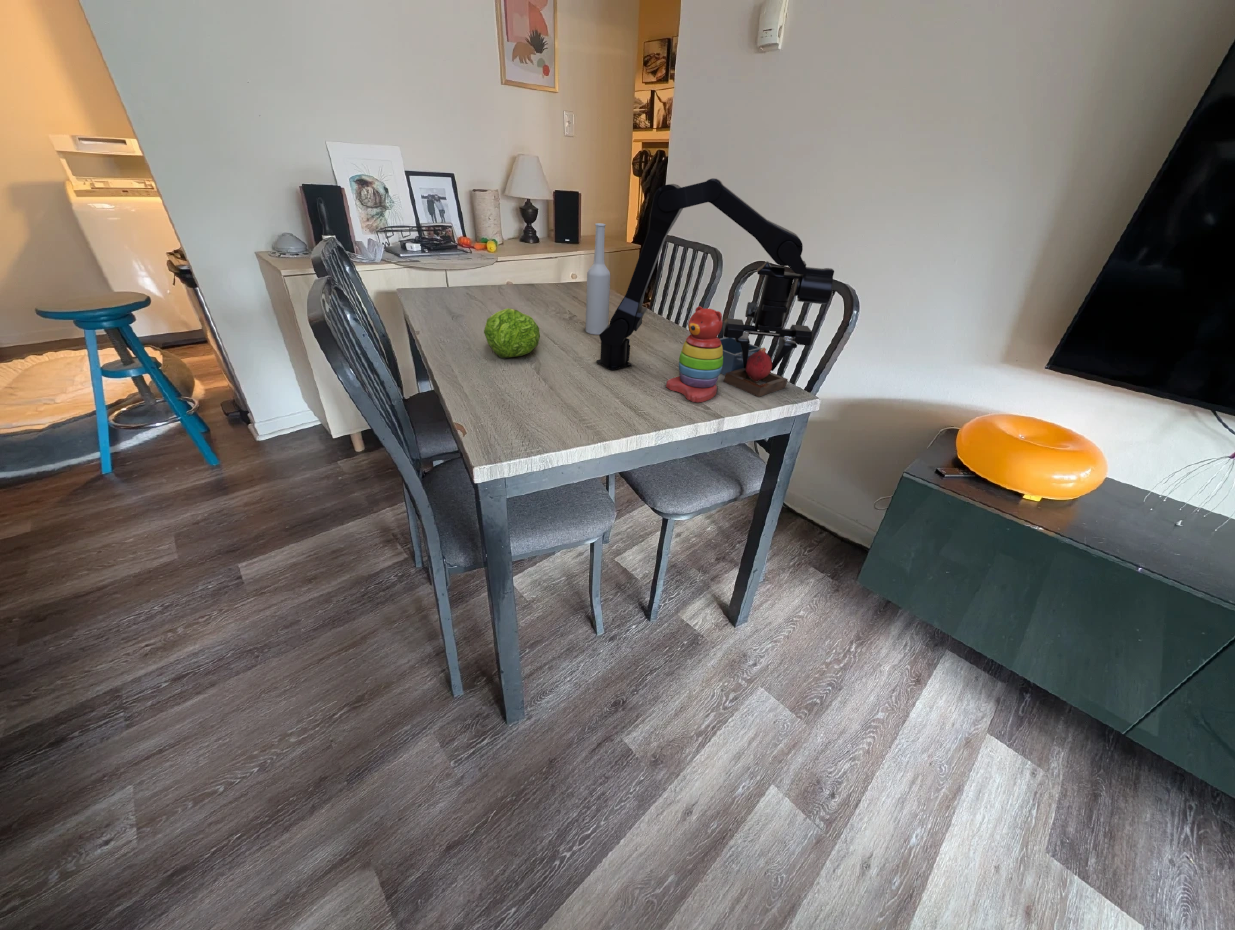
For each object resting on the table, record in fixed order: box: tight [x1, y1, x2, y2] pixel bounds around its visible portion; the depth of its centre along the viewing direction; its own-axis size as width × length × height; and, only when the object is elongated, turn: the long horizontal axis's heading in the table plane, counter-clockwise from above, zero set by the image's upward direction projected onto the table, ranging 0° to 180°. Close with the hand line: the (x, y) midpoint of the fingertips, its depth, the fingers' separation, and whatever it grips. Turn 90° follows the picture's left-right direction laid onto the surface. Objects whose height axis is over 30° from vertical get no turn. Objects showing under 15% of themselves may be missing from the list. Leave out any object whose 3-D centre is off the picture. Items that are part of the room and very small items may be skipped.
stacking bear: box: [665, 305, 723, 403], centre depth 100 cm, size 11×10×18 cm
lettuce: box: [483, 307, 541, 359], centre depth 119 cm, size 12×24×13 cm
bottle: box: [585, 222, 611, 336], centre depth 130 cm, size 7×7×28 cm
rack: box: [723, 368, 789, 398], centre depth 109 cm, size 10×10×2 cm
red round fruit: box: [745, 346, 773, 383], centre depth 107 cm, size 6×6×8 cm
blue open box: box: [719, 337, 762, 376], centre depth 117 cm, size 10×10×6 cm
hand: (758, 368), depth 108 cm, fingers closed on red round fruit, 6 cm apart
